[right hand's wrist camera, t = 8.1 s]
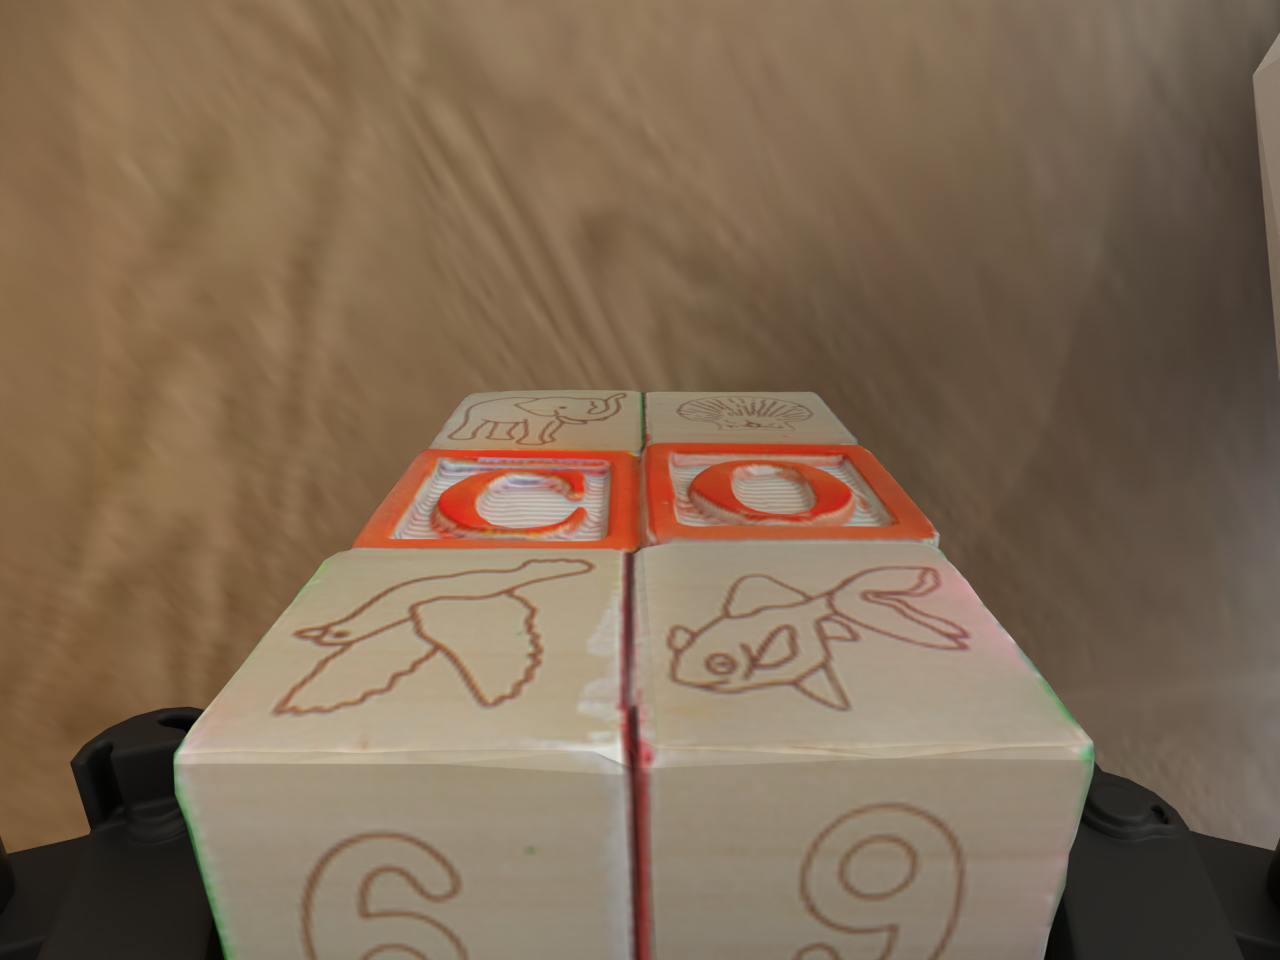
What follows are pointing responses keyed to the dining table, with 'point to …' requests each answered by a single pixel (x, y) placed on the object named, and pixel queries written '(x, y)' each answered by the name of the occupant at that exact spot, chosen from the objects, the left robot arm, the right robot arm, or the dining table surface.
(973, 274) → the dining table surface
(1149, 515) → the dining table surface
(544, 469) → the stack of blocks
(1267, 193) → the sphere
